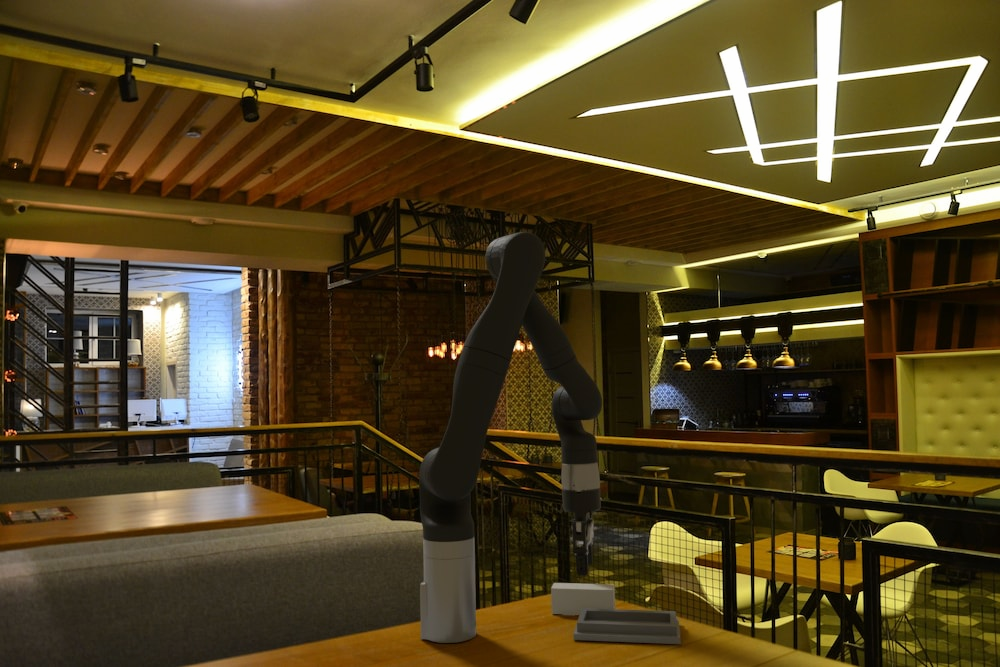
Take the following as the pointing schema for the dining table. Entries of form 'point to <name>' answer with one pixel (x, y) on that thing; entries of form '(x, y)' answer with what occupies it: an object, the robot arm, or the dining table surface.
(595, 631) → the cradle
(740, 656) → the dining table surface
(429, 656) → the dining table surface
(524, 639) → the dining table surface
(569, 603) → the off-white tapered block
